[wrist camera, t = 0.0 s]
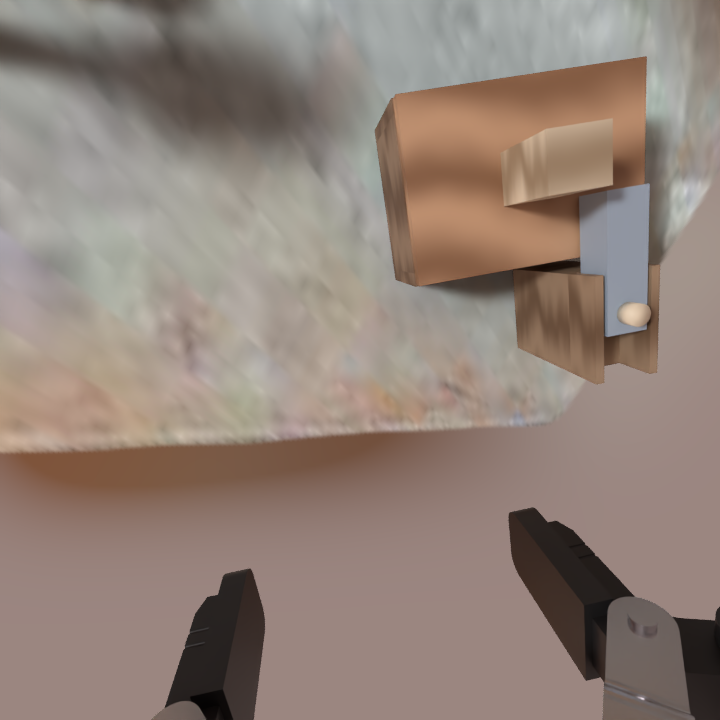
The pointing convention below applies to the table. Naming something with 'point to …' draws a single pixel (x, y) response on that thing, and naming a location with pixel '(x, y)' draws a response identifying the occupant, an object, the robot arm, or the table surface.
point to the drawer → (618, 253)
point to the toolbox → (535, 291)
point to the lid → (515, 164)
